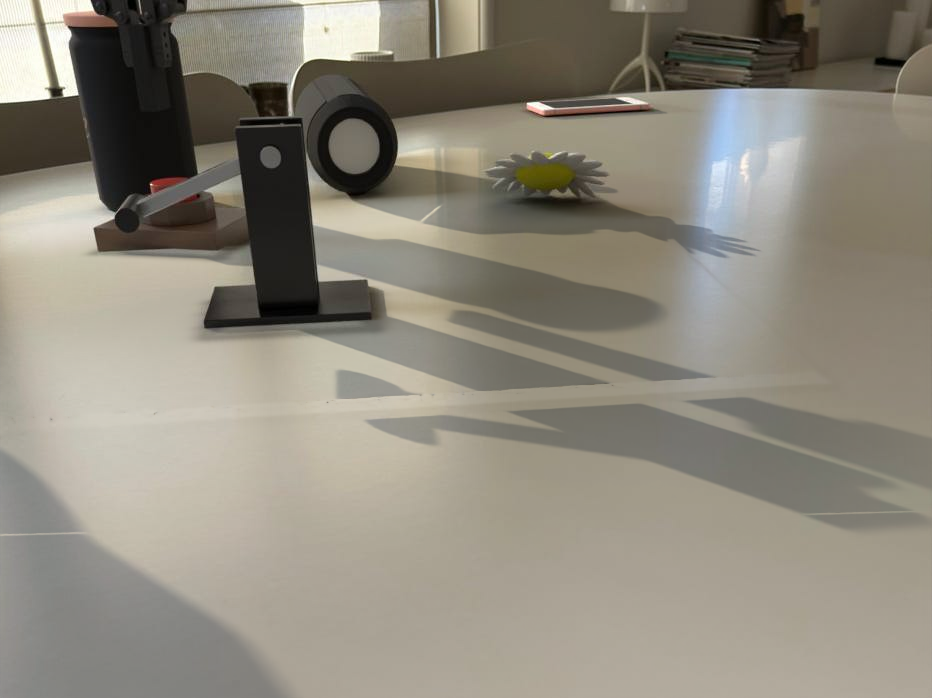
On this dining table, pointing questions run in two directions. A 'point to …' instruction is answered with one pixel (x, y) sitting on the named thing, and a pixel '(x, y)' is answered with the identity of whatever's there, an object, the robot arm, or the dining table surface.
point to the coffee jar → (127, 113)
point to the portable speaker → (346, 134)
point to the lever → (172, 195)
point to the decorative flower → (547, 173)
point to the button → (167, 182)
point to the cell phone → (587, 106)
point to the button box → (179, 228)
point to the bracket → (281, 238)
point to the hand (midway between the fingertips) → (155, 109)
